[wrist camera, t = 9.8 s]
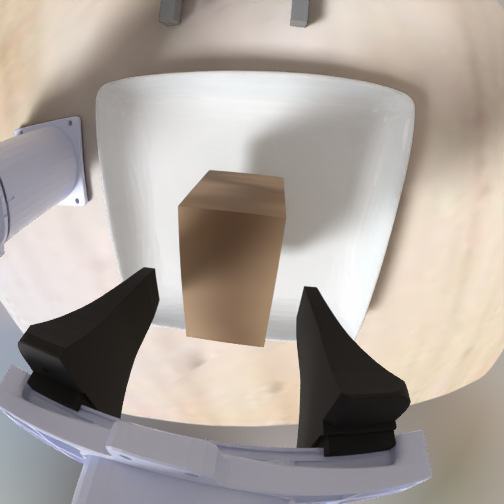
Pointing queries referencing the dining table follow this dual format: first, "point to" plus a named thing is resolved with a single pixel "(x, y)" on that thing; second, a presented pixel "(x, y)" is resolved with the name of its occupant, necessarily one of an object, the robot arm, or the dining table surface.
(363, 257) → the salad plate
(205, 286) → the tan cardboard box
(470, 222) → the dining table surface
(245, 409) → the dining table surface
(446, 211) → the dining table surface
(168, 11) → the bay
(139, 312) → the robot arm
